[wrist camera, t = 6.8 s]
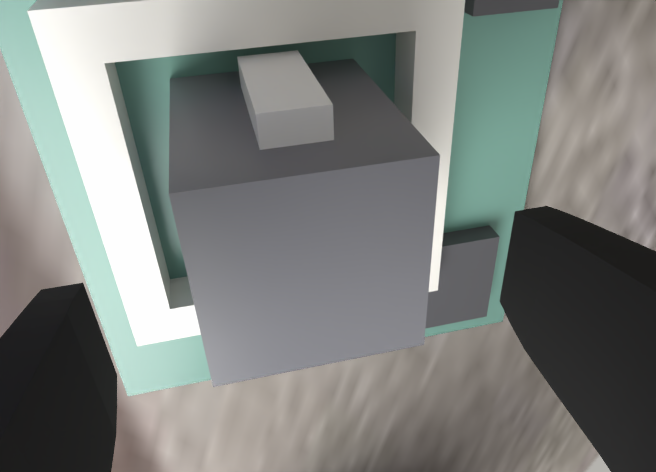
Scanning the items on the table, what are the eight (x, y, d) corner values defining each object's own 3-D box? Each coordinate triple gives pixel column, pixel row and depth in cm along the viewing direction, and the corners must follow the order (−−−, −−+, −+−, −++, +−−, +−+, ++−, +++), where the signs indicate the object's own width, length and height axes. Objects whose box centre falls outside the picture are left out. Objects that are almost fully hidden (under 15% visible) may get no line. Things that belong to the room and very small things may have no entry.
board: (491, 305, 19) (521, 347, 18) (129, 376, 17) (125, 429, 16) (570, -159, 12) (633, -162, 10) (-49, -130, 10) (-93, -127, 8)
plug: (354, 211, 15) (423, 345, 11) (201, 234, 14) (213, 386, 10) (352, 30, 12) (443, 117, 8) (163, 49, 11) (159, 154, 7)
